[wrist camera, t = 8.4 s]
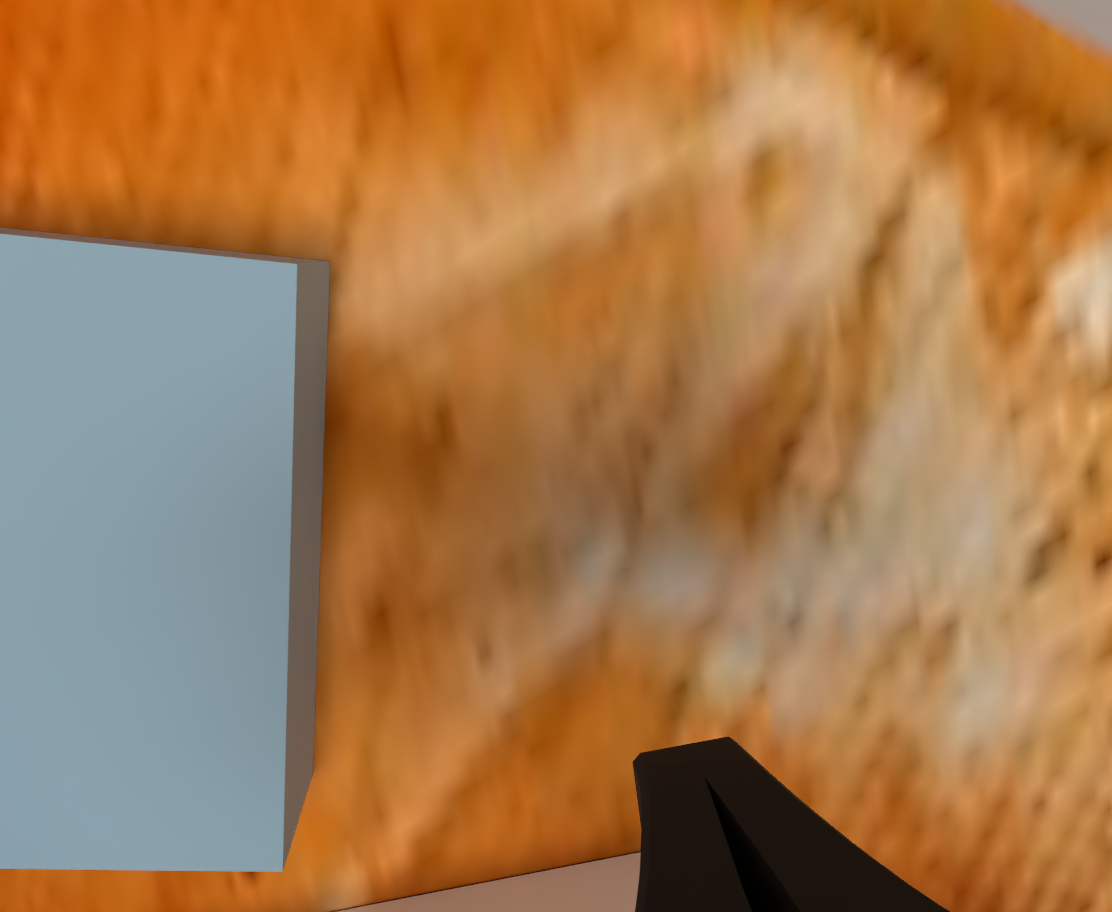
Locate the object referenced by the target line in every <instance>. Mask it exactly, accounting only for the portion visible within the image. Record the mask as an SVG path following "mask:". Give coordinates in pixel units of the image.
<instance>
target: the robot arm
mask: <svg viewBox="0 0 1112 912" xmlns="http://www.w3.org/2000/svg"><path fill="white" fill-rule="evenodd" d="M633 768H634V776H635V783H636V791H637V798H638V806H639V814H640V821H641V829H642V833H641V855H640V873H639V884H638V892H637V900H636V908H635V912H950V911H948V910H946V909H945V908H943V907H942V906H940V905H938V904H937V903H935V902H934V901H932V900H931V899H929V898H928V897H926V896H925V895H924V894H922V893H921V892H919V891H918V890H916V889H915V888H913V887H912V886H911V885H909V884H908V883H906V882H905V881H904V880H902V879H901V878H899V877H898V876H897V875H895V874H894V873H893V872H891V871H890V870H888V869H887V868H886V867H884V866H883V865H882V864H880V863H879V862H877V861H876V860H875V859H873V858H872V857H871V856H869V855H868V854H867V853H865V852H864V851H863V850H862V849H860V848H859V847H858V846H856V845H855V844H854V843H852V842H851V841H850V840H849V839H847V838H846V837H845V836H844V835H842V834H841V833H840V832H839V831H838V830H836V829H835V828H834V827H833V826H831V825H830V824H829V823H828V822H826V821H825V820H824V819H823V818H822V817H820V816H819V815H818V814H817V813H815V812H814V811H813V810H812V809H811V808H809V807H808V806H807V805H806V804H805V803H803V802H802V801H801V800H800V799H799V798H798V797H796V796H795V795H794V794H793V793H792V792H791V791H790V790H788V789H787V788H786V787H785V786H784V785H783V784H782V783H781V782H779V781H778V780H777V779H776V778H775V777H774V776H773V775H772V774H770V773H769V772H768V771H767V770H766V769H765V768H764V767H763V766H762V765H761V764H759V763H758V762H757V761H756V760H755V759H754V758H753V757H752V756H751V755H750V754H749V753H748V752H747V751H745V750H744V749H743V748H742V747H741V746H740V745H739V744H738V743H737V742H735V741H734V740H733V739H731V738H730V737H724V738H718V739H713V740H708V741H702V742H697V743H692V744H686V745H681V746H676V747H670V748H665V749H659V750H654V751H649V752H643V753H640V754H639V755H638V756H637V758H636V759H635V760H634V761H633Z"/></svg>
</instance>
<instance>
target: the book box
mask: <svg viewBox="0 0 1112 912" xmlns="http://www.w3.org/2000/svg"><path fill="white" fill-rule="evenodd" d="M329 284H330V261H322V260H312V259H302V258H293V257H283V256H273V255H263V254H254V253H244V252H234V251H225V250H215V249H205V248H195V247H186V246H176V245H166V244H156V243H147V242H137V241H127V240H118V239H108V238H98V237H88V236H79V235H69V234H59V233H50V232H40V231H30V230H20V229H11V228H1V227H0V869H70V870H164V871H258V872H283V869H284V866H285V863H286V859H287V856H288V853H289V850H290V846H291V843H292V840H293V837H294V833H295V830H296V827H297V824H298V820H299V817H300V814H301V811H302V807H303V804H304V801H305V798H306V794H307V791H308V788H309V785H310V781H311V778H312V775H313V757H314V728H315V698H316V669H317V639H318V609H319V580H320V550H321V521H322V491H323V462H324V432H325V402H326V373H327V343H328V314H329Z"/></svg>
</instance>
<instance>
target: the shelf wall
mask: <svg viewBox="0 0 1112 912" xmlns="http://www.w3.org/2000/svg"><path fill="white" fill-rule="evenodd" d="M640 855H641V852H639V853H634V854H629V855H624V856H619V857H613V858H608V859H603V860H598V861H593V862H588V863H583V864H578V865H572V866H567V867H562V868H557V869H552V870H547V871H542V872H537V873H531V874H526V875H521V876H516V877H511V878H506V879H501V880H495V881H490V882H485V883H480V884H475V885H470V886H465V887H460V888H454V889H449V890H444V891H439V892H434V893H429V894H424V895H419V896H413V897H408V898H403V899H398V900H393V901H388V902H383V903H378V904H372V905H367V906H362V907H357V908H352V909H347V910H342V911H336V912H635V908H636V900H637V892H638V884H639V873H640Z"/></svg>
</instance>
